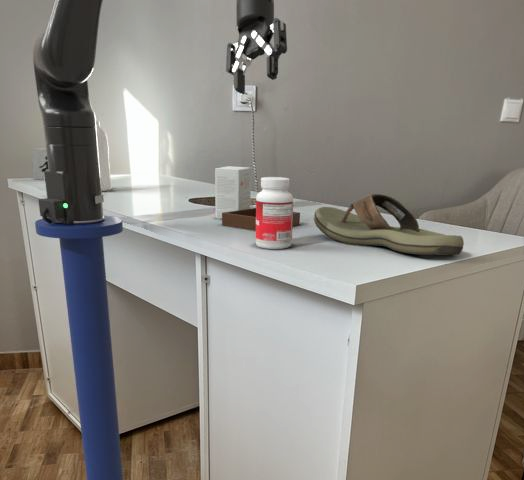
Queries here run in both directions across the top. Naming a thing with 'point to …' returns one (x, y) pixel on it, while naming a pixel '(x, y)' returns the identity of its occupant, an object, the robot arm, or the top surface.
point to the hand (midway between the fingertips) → (255, 85)
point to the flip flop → (384, 228)
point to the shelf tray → (248, 219)
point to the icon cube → (39, 162)
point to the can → (103, 157)
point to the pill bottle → (274, 214)
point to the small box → (232, 189)
